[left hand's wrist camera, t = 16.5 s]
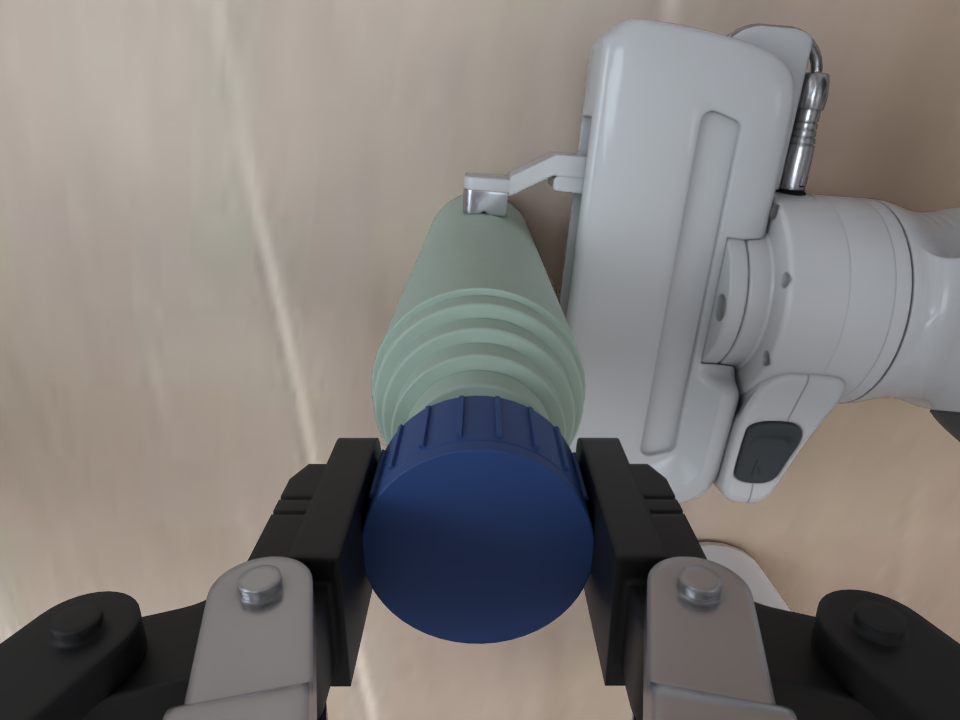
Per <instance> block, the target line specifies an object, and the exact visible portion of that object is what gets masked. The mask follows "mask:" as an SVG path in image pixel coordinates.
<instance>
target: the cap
mask: <svg viewBox="0 0 960 720" xmlns="http://www.w3.org/2000/svg"><path fill="white" fill-rule="evenodd" d="M368 497H369V498H371V500H370V504H369V507H368V511H367V515H366V518H365V522H364V526H363V529H362V535H363V549H364V562H365V572H366V575H367V578H368V580H369V582H370V584H371V586H372V588H373V590H374V591H375V593H376V594H377V596H378V597H379V598H380V600H381V601H382V602H383V604H384V605H385V606H386V607H387V608H388V609H389V610H390V611H391V612H392V613H393V614H395V615H396V616H397V617H399V618H400V619H401V620H402V621H404V622H405V623H407V624H409V625H410V626H412V627H414V628H415V629H418V630H420V631H422V632H424V633H426V634H429V635H432V636H434V637H437V638H440V639H445V640H449V641H453V642H461V643H475V644H484V643H496V642H502V641H507V640H512V639H515V638H519V637H522V636H525V635H527V634H530V633H532V632H534V631H537V630H539V629H541V628H542V627H544V626H546V625H548V624H549V623H551V622H552V621H554V620H555V619H556V618H558V617H559V616H560V615H561V614H563V613H564V612H565V611H566V610H567V609H568V608H569V607H570V606H571V605H572V603H573V602H574V601H575V600H576V599H577V597H578V596H579V594H580V593H581V591H582V590H583V588H584V586H585V584H586V582H587V580H588V578H589V575H590V573H591V566H592V553H593V538H594V530H593V526H592V521H591V518H590V514H589V510H588V507H587V503H586V500H589V498H588V494H587V491H586V487H585V484H584V480H583V476H582V473H581V469H580V466H579V462H578V459H577V455H576V453H575V452H573V453H572V451H571V449H570V447H569V445H568V444H567V442H566V440H565V439H564V437H563V436H562V435H561V432H560V428H559V427H558V426H556V427H555V426H553V425H552V424H551V423H550V422H549V421H548V420H547V419H546V418H544V417H543V416H542V415H540V414H539V413H537V412H536V411H534V410H533V408H532V407H530V406H529V407H527V406H524V405H522V404H519V403H517V402H515V401H511V400H507V399H504V398H500V396H495V397H492V396H464V395H462V396H459V397H458V398H453V399H449V400H445V401H442V402H439V403H437V404H434V405H432V406H430V405H428V406H426V407H425V409H424V410H422V411H421V412H419V413H418V414H416V415H415V416H413V417H412V418H411V419H409V420H408V421H407V422H406V423H405V424H404V425H402V424H401V425H400V426H399V427H398V430H397V433H396V434H395V435H394V436H393V438H392V439H391V441H390V443H389V444H388V446H387V448H386V450H382V451H381V454H380V457H379V461H378V464H377V468H376V471H375V475H374V478H373V482H372V485H371V489H370V492H369V496H368Z"/></svg>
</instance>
